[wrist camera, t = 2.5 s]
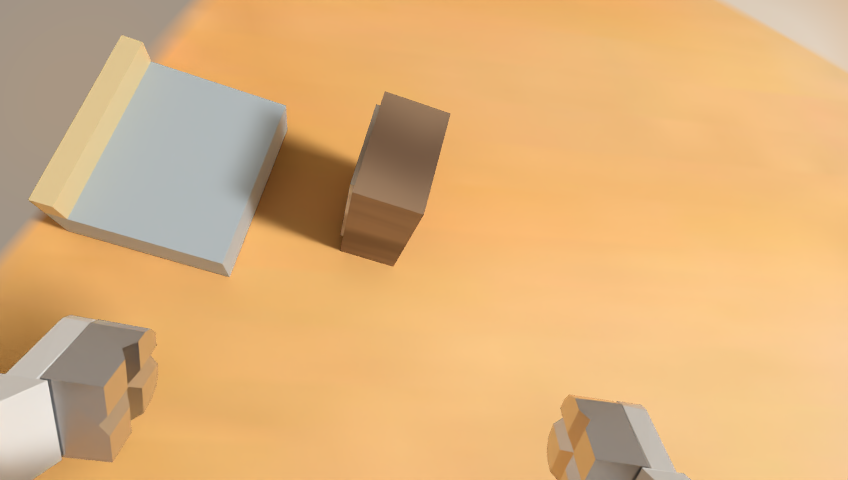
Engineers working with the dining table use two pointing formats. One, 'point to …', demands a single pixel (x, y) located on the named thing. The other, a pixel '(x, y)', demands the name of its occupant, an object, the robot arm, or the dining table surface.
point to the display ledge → (163, 162)
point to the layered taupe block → (392, 178)
